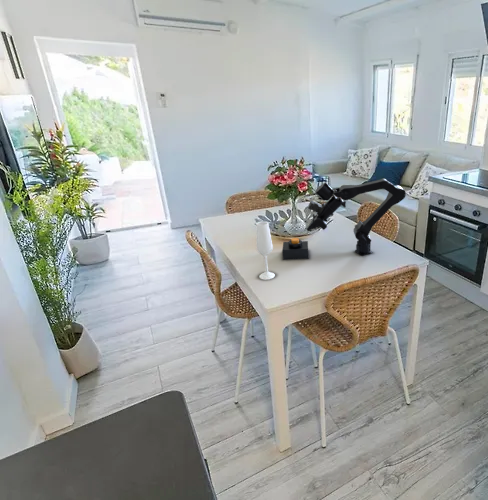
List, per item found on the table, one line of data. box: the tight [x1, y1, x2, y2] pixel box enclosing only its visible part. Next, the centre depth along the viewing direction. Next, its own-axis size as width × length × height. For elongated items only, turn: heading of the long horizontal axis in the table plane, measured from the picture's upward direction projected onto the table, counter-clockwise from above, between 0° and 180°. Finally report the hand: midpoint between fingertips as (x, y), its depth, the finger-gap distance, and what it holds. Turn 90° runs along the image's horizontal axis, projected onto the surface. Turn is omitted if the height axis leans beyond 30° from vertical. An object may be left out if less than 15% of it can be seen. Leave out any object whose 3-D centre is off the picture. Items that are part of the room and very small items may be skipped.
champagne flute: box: [255, 220, 276, 280], centre depth 145 cm, size 7×7×24 cm
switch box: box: [281, 239, 310, 261], centre depth 169 cm, size 12×10×7 cm
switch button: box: [290, 237, 300, 244], centre depth 167 cm, size 4×4×2 cm
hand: (307, 229), depth 166 cm, fingers closed
